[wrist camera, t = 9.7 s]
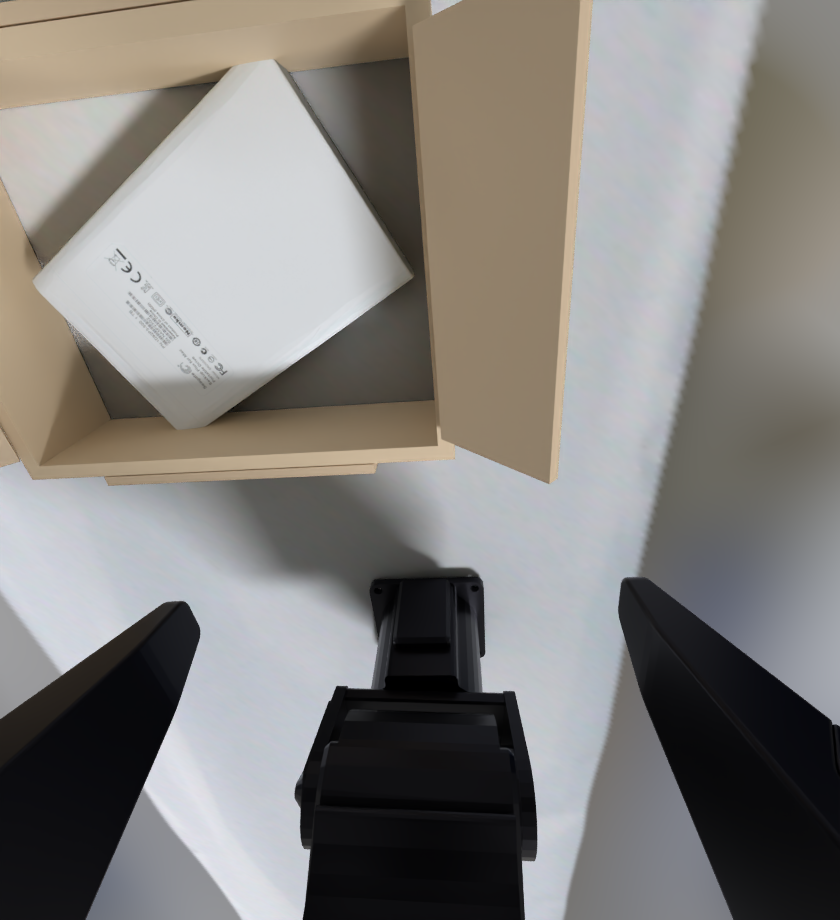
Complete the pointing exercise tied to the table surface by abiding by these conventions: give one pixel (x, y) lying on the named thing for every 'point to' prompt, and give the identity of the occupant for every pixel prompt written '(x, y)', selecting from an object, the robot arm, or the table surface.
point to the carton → (46, 331)
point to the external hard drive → (226, 252)
